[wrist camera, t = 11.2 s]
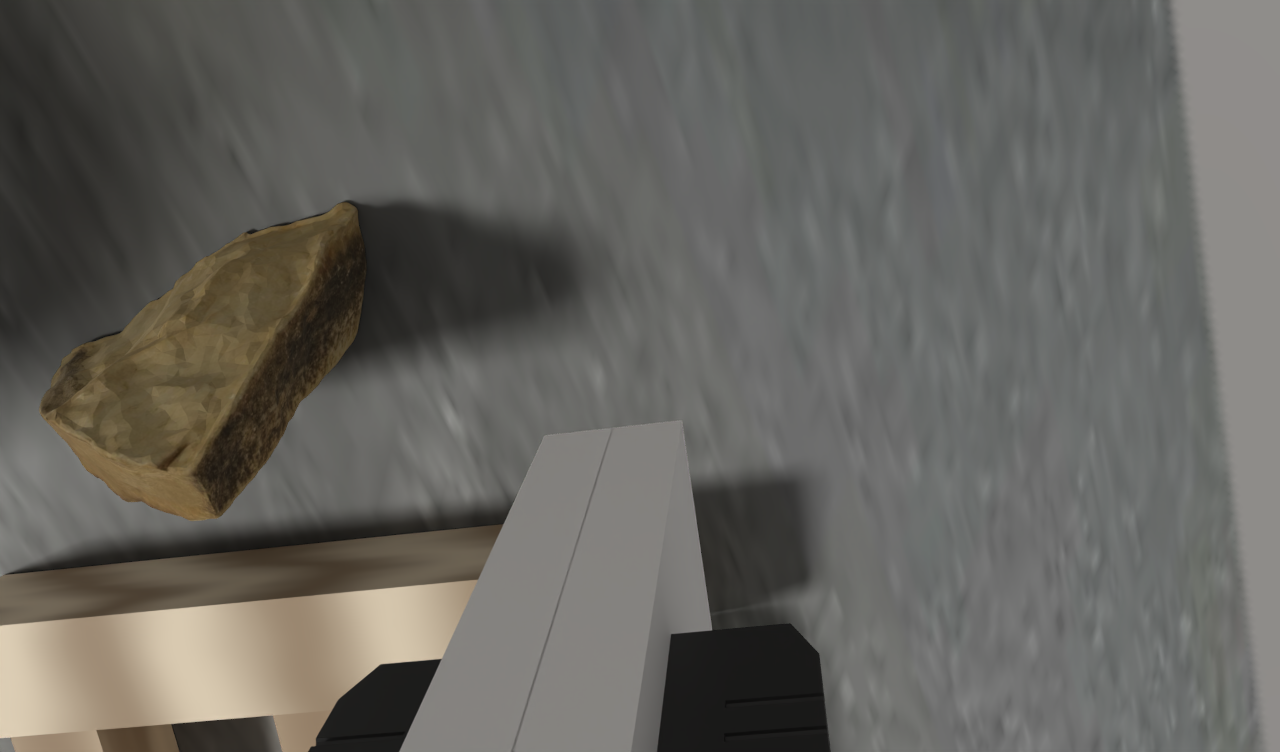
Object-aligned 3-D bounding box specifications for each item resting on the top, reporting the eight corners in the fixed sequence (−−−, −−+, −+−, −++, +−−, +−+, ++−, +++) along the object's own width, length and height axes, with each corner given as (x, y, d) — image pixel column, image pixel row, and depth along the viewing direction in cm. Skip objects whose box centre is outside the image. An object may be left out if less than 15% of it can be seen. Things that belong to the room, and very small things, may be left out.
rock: (31, 518, 39) (318, 577, 37) (-163, 436, 31) (190, 507, 29) (147, 221, 43) (415, 262, 41) (-1, 79, 35) (323, 122, 33)
